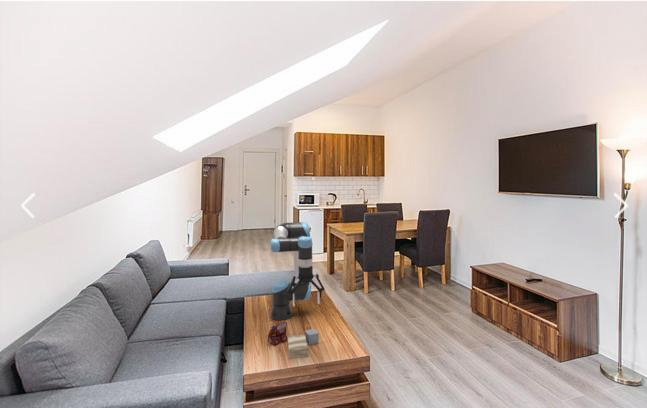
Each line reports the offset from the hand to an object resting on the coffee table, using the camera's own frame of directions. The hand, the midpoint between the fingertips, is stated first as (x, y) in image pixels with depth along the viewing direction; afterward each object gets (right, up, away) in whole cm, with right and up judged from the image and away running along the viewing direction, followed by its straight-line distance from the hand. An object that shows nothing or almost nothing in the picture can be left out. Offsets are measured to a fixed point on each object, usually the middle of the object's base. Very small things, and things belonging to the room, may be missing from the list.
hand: (306, 304), depth 165 cm
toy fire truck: (-18, -26, +13) cm, 34 cm away
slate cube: (+3, -26, +13) cm, 29 cm away
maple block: (-5, -27, +4) cm, 28 cm away
